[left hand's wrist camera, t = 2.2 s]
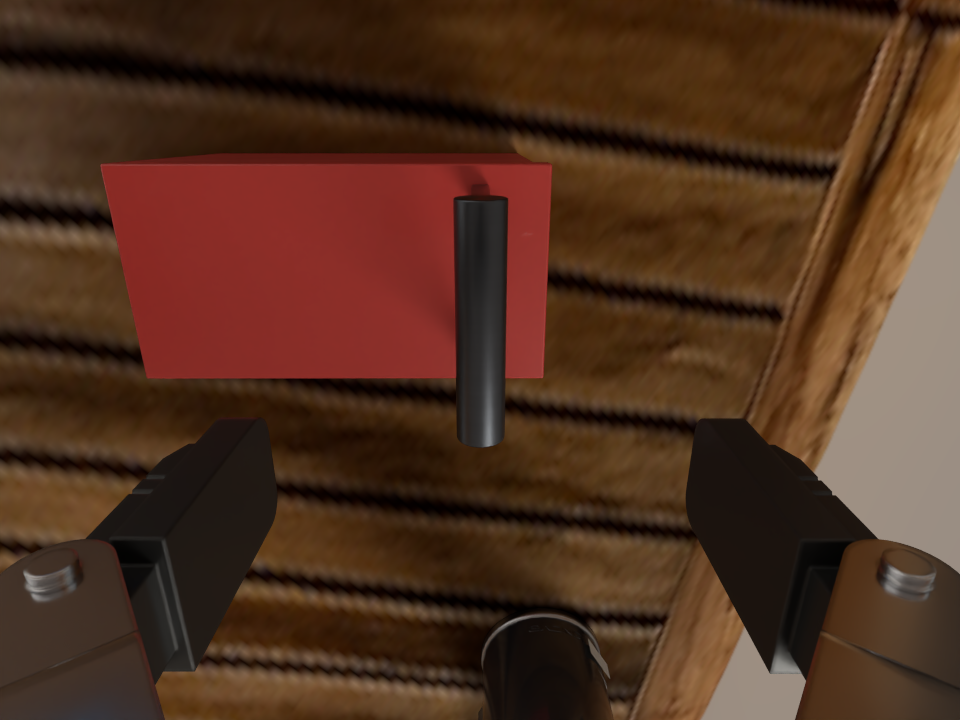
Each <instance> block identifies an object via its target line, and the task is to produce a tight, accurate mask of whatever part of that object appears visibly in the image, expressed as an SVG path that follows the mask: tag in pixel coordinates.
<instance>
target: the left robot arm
mask: <svg viewBox="0 0 960 720" xmlns="http://www.w3.org/2000/svg"><path fill="white" fill-rule="evenodd" d="M132 491H133V492H132V494H128V495H127V496H126V498H125V499H124V500H123V501H122V502H121V503H120V504H119V505H118V506H117V507H116V508H115V509H114V510H113V511H112V512H111V513H110V514H109V515H108V516H107V517H106V518H105V519H104V520H103V521H102V522H101V523H100V524H99V525H98V526H97V527H96V529H95V530H94V531H93V532H92V533H91V534H90V535H89V536H88V537H87V538H86V539H80V540H72V541H67V542H62V543H59V544H55V545H52V546H49V547H46V548H43V549H41V550H38V551H36V552H34V553H32V554H30V555H28V556H26V557H24V558H22V559H20V560H19V561H17V562H16V563H14V564H13V565H11V566H10V567H8V568H7V569H6V570H5V571H3V572H2V573H1V574H0V720H165V719H164V715H163V712H162V708H161V705H160V701H159V698H158V694H157V691H156V687H155V684H156V683H157V681H158V679H159V678H160V676H161V674H162V672H163V671H195V670H196V668H197V666H198V664H199V662H200V660H201V659H202V657H203V655H204V653H205V651H206V649H207V647H208V645H209V643H210V641H211V640H212V638H213V636H214V634H215V632H216V630H217V628H218V626H219V624H220V623H221V621H222V619H223V617H224V615H225V613H226V611H227V609H228V607H229V606H230V604H231V602H232V600H233V598H234V596H235V594H236V592H237V590H238V588H239V587H240V585H241V583H242V581H243V579H244V577H245V575H246V573H247V571H248V570H249V568H250V566H251V564H252V562H253V560H254V558H255V556H256V554H257V553H258V551H259V549H260V547H261V545H262V543H263V541H264V539H265V537H266V535H267V534H268V532H269V530H270V528H271V526H272V524H273V521H274V518H275V514H276V508H277V487H276V480H275V473H274V466H273V459H272V452H271V445H270V438H269V432H268V427H267V424H266V422H265V420H264V419H263V418H219V419H218V420H216V422H215V423H214V424H213V425H212V426H211V427H210V428H209V429H208V430H207V431H206V433H205V434H204V435H203V436H202V437H201V438H200V439H199V440H198V441H197V442H196V443H195V444H188V445H186V446H184V447H183V448H181V449H179V450H177V451H176V452H174V453H172V454H170V455H169V456H167V457H165V458H163V459H162V460H161V461H160V462H159V463H158V464H157V465H156V467H155V468H154V469H153V470H152V471H151V472H150V473H149V474H148V475H147V478H146V479H143V480H142V481H141V482H140V483H139V484H138V485H137V486H136V487H135V488H134V489H133V490H132ZM686 509H687V515H688V519H689V522H690V525H691V527H692V529H693V531H694V532H695V534H696V536H697V538H698V540H699V542H700V544H701V546H702V547H703V549H704V551H705V553H706V555H707V557H708V559H709V561H710V562H711V564H712V566H713V568H714V570H715V572H716V574H717V575H718V577H719V579H720V581H721V583H722V585H723V587H724V589H725V590H726V592H727V594H728V596H729V598H730V600H731V602H732V604H733V605H734V607H735V609H736V611H737V613H738V615H739V617H740V618H741V620H742V622H743V624H744V626H745V628H746V630H747V631H748V633H749V635H750V637H751V639H752V641H753V643H754V645H755V646H756V648H757V650H758V652H759V654H760V656H761V658H762V660H763V661H764V663H765V665H766V667H767V669H768V671H769V673H770V674H802V675H803V676H804V678H805V680H806V684H805V687H804V691H803V694H802V698H801V701H800V705H799V708H798V712H797V715H796V719H795V720H960V574H959V573H958V572H957V571H955V570H954V569H953V568H951V567H950V566H949V565H947V564H946V563H944V562H943V561H941V560H940V559H938V558H936V557H934V556H932V555H930V554H928V553H926V552H924V551H922V550H919V549H917V548H914V547H911V546H908V545H905V544H901V543H897V542H893V541H888V540H879V539H878V538H877V537H876V536H875V535H874V534H873V533H872V532H871V531H870V530H869V529H868V528H867V527H866V526H865V525H864V524H863V523H862V522H861V521H860V520H859V519H858V518H857V517H856V516H855V515H854V514H853V513H852V512H851V511H850V510H849V509H848V508H847V507H846V505H845V504H843V502H842V501H841V500H840V499H839V498H838V497H837V496H834V495H832V491H831V490H830V489H829V488H828V487H827V486H826V485H825V484H824V483H823V482H822V481H818V477H817V476H816V475H815V474H814V473H813V472H812V471H811V470H810V469H809V468H808V467H807V466H806V465H805V464H804V462H803V461H802V460H800V459H799V458H797V457H795V456H793V455H792V454H790V453H788V452H786V451H785V450H783V449H781V448H779V447H778V446H776V445H768V444H767V442H766V441H765V440H764V439H763V438H762V437H761V436H760V435H759V434H758V433H757V432H756V430H755V429H754V428H753V427H752V426H751V425H750V424H749V423H748V422H747V421H746V420H745V419H700V420H699V422H698V423H697V426H696V429H695V434H694V441H693V448H692V454H691V461H690V468H689V475H688V482H687V489H686ZM481 661H482V670H483V706H482V708H481V710H480V711H479V713H478V720H614V719H613V714H612V710H611V705H610V701H609V697H608V692H607V687H606V683H605V678H604V674H603V670H604V671H605V673H606V674H607V675H608V677H609V678H610V676H609V672H608V668H607V664H606V662H605V661H604V660H603V658H602V657H601V656H600V650H599V646H598V642H597V639H596V637H595V634H594V633H593V631H592V630H591V629H590V627H589V626H588V625H587V624H586V623H585V622H583V621H582V620H581V619H579V618H578V617H576V616H574V615H572V614H570V613H567V612H564V611H561V610H556V609H549V608H535V609H528V610H523V611H520V612H517V613H514V614H512V615H510V616H508V617H506V618H504V619H503V620H501V621H500V622H498V623H497V624H496V625H495V626H494V627H493V628H492V629H491V630H490V631H489V633H488V634H487V636H486V638H485V640H484V643H483V646H482V652H481ZM602 669H603V670H602Z"/></svg>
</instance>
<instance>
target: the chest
mask: <svg viewBox="0 0 960 720" xmlns="http://www.w3.org/2000/svg"><path fill="white" fill-rule="evenodd" d="M318 162H531V161H530V160H528V159H526V158H524V157H523V156H521V155H519V154H518V153H219V154H208V155H197V156H185V157H173V158H162V159H150V160H138V161H127V162H117V163H318Z"/></svg>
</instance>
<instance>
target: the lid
mask: <svg viewBox="0 0 960 720" xmlns="http://www.w3.org/2000/svg"><path fill="white" fill-rule="evenodd" d="M101 171H102V176H103V180H104V185H105V189H106V194H107V198H108V203H109V207H110V212H111V217H112V221H113V226H114V230H115V235H116V239H117V244H118V249H119V253H120V258H121V262H122V267H123V271H124V276H125V280H126V285H127V290H128V294H129V299H130V303H131V308H132V312H133V317H134V321H135V326H136V331H137V335H138V340H139V344H140V349H141V353H142V358H143V363H144V367H145V372H146V376H147V378H456V406H457V438H458V440H459V441H460V442H461V443H463V444H465V445H468V446H471V447H490V446H494V445H496V444H498V443H500V442H501V441H502V440H503V439H504V433H505V378H543V374H544V350H545V326H546V302H547V278H548V253H549V229H550V205H551V181H552V164H550V163H548V162H318V163H104V164H101Z"/></svg>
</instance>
